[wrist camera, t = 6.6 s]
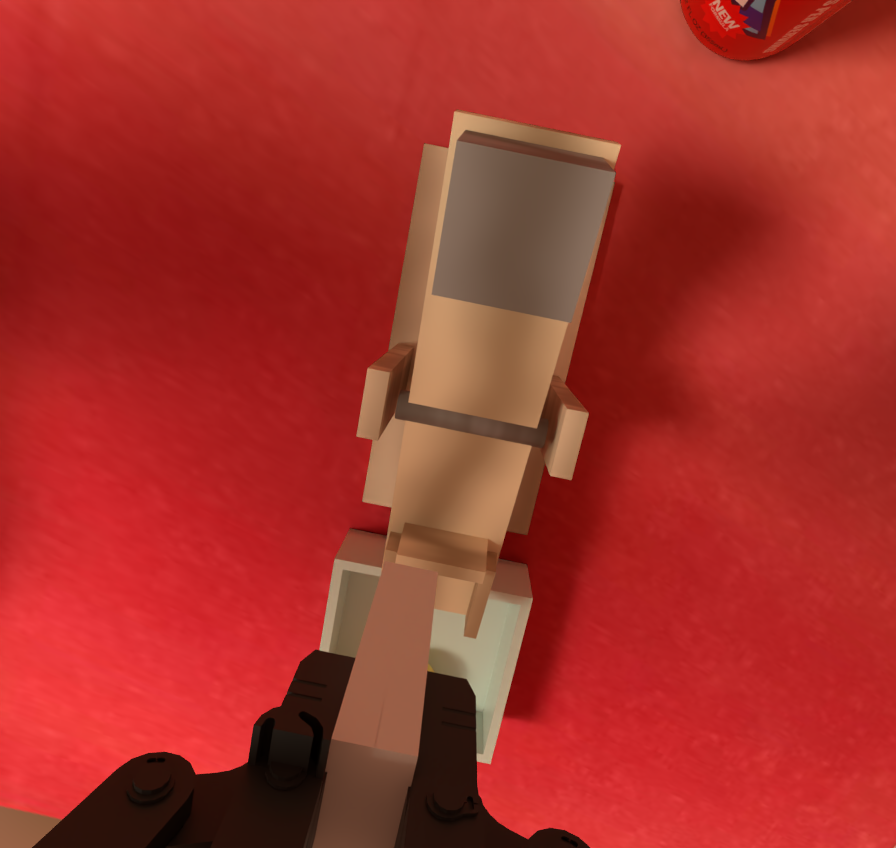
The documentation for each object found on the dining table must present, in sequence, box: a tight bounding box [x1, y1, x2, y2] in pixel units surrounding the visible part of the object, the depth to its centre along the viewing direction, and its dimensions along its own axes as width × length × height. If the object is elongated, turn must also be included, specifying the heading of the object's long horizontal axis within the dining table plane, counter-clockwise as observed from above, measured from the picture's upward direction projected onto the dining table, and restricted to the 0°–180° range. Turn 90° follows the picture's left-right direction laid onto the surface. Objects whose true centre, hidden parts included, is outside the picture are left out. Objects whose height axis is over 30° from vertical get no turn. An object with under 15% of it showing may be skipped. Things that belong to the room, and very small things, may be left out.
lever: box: [381, 110, 621, 639], centre depth 27 cm, size 7×25×5 cm, turn 169°
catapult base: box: [356, 143, 615, 535], centre depth 32 cm, size 11×22×11 cm, turn 169°
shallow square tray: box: [320, 528, 533, 764], centre depth 40 cm, size 12×12×4 cm
